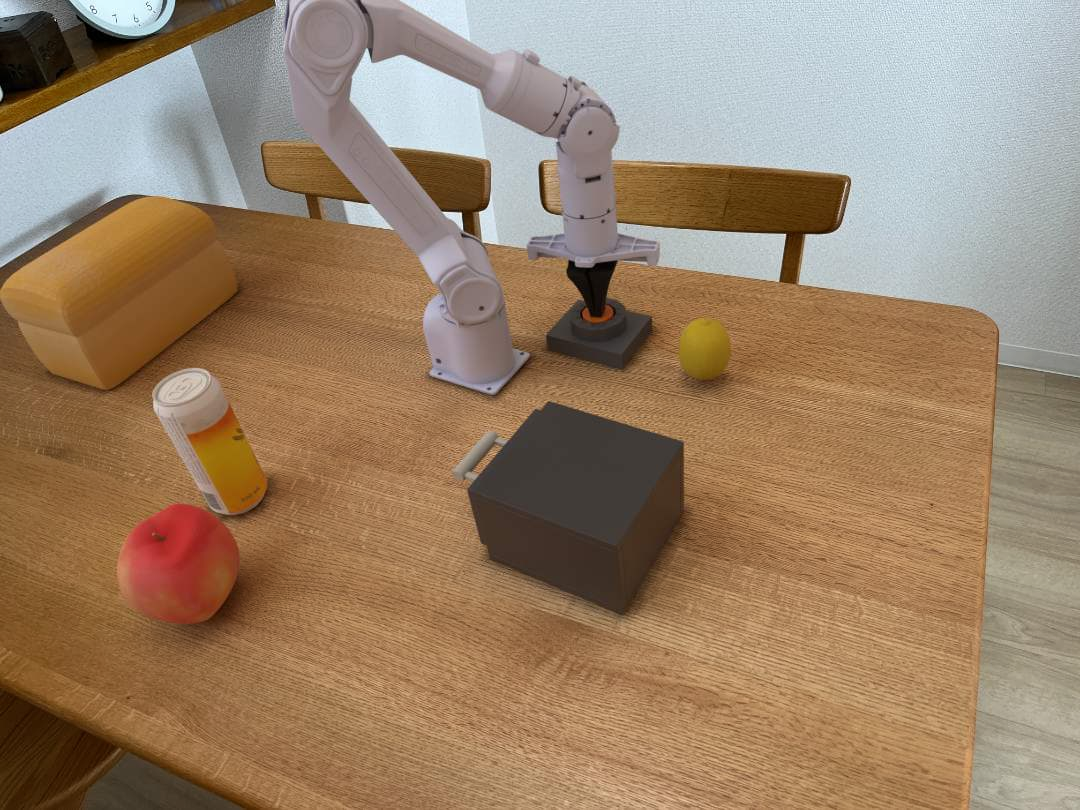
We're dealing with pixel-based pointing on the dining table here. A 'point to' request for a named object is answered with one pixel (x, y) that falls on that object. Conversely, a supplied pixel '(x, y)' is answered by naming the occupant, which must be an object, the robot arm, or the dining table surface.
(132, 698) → the dining table surface
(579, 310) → the block
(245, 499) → the beer can
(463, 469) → the drawer
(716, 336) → the lemon
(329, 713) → the dining table surface
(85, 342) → the bread
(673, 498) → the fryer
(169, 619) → the apple
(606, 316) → the button
